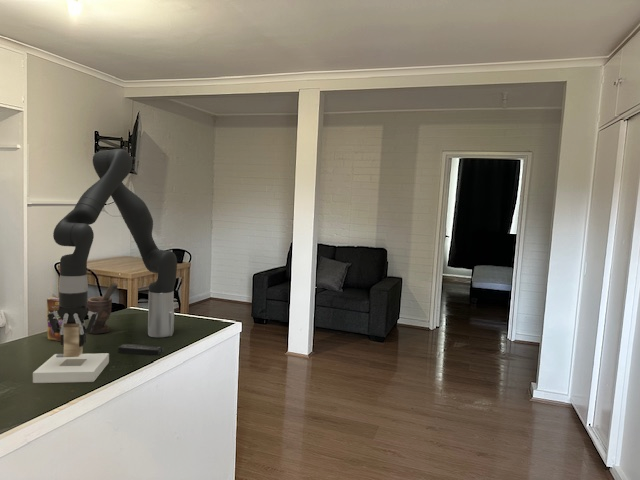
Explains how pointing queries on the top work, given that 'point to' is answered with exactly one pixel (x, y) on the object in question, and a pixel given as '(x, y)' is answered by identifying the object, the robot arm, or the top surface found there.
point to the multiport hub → (140, 349)
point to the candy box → (53, 307)
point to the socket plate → (71, 368)
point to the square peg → (72, 340)
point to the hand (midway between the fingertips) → (73, 345)
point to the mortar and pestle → (102, 309)
